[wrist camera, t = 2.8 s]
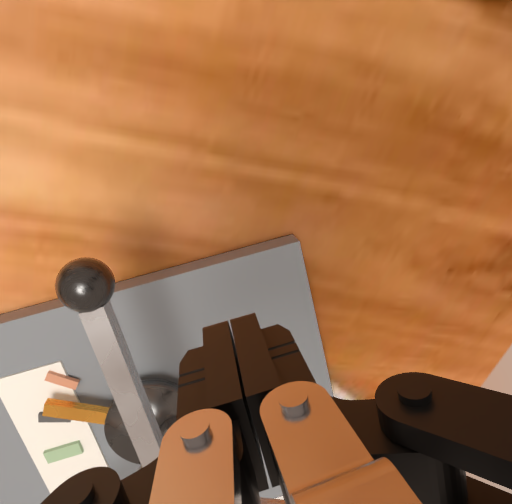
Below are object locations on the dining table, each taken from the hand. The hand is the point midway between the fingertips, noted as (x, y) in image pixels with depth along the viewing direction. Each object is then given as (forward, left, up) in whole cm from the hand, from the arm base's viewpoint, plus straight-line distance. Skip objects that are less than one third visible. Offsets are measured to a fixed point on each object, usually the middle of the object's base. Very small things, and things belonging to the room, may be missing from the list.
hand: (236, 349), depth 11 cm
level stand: (+8, +12, -17) cm, 22 cm away
